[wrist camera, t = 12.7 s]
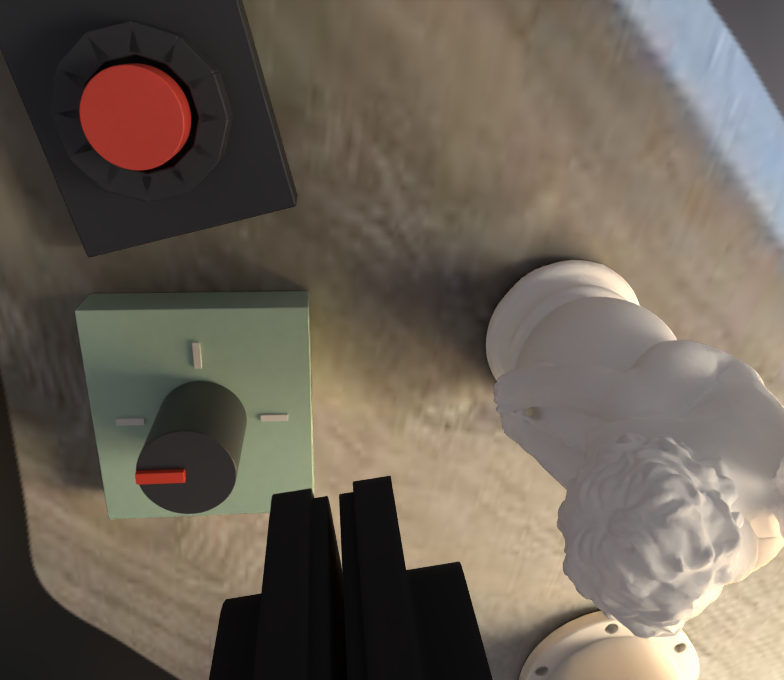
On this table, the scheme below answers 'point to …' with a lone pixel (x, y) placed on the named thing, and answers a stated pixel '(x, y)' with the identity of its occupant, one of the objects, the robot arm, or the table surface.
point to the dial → (193, 448)
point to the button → (135, 116)
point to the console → (200, 363)
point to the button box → (202, 89)
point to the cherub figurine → (639, 444)
